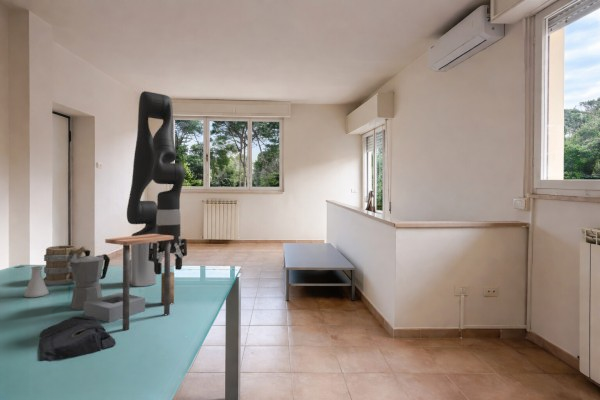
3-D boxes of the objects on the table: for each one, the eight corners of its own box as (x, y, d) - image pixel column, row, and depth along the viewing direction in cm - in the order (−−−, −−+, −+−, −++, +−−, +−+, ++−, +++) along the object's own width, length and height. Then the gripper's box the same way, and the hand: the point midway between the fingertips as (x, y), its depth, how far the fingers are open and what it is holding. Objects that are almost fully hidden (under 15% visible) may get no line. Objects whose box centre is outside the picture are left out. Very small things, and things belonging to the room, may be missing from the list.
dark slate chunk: (102, 322, 106) (102, 306, 106) (117, 350, 88) (117, 330, 88) (37, 334, 97) (37, 316, 97) (39, 367, 79) (39, 345, 79)
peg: (158, 303, 123) (158, 273, 122) (168, 300, 126) (168, 271, 126) (167, 305, 121) (167, 275, 120) (176, 302, 124) (176, 273, 124)
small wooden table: (104, 325, 103) (105, 239, 102) (152, 309, 117) (152, 233, 116) (126, 331, 98) (126, 241, 98) (172, 314, 112) (173, 235, 112)
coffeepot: (80, 313, 112) (81, 254, 111) (57, 310, 115) (57, 252, 114) (119, 299, 126) (120, 247, 126) (98, 296, 129) (98, 245, 129)
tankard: (35, 283, 146) (35, 245, 146) (66, 276, 158) (66, 241, 158) (70, 289, 139) (70, 249, 138) (100, 281, 151) (100, 245, 150)
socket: (83, 315, 110) (83, 301, 110) (119, 304, 121) (120, 292, 121) (109, 322, 105) (109, 308, 105) (144, 310, 115) (145, 298, 115)
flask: (53, 294, 132) (53, 266, 132) (31, 299, 125) (31, 270, 125) (41, 291, 135) (41, 264, 135) (19, 296, 128) (19, 267, 128)
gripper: (176, 221, 131) (176, 267, 131) (142, 224, 118) (142, 274, 118) (192, 222, 127) (192, 269, 127) (159, 225, 115) (159, 277, 115)
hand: (168, 271), depth 123 cm, fingers open, 8 cm apart
